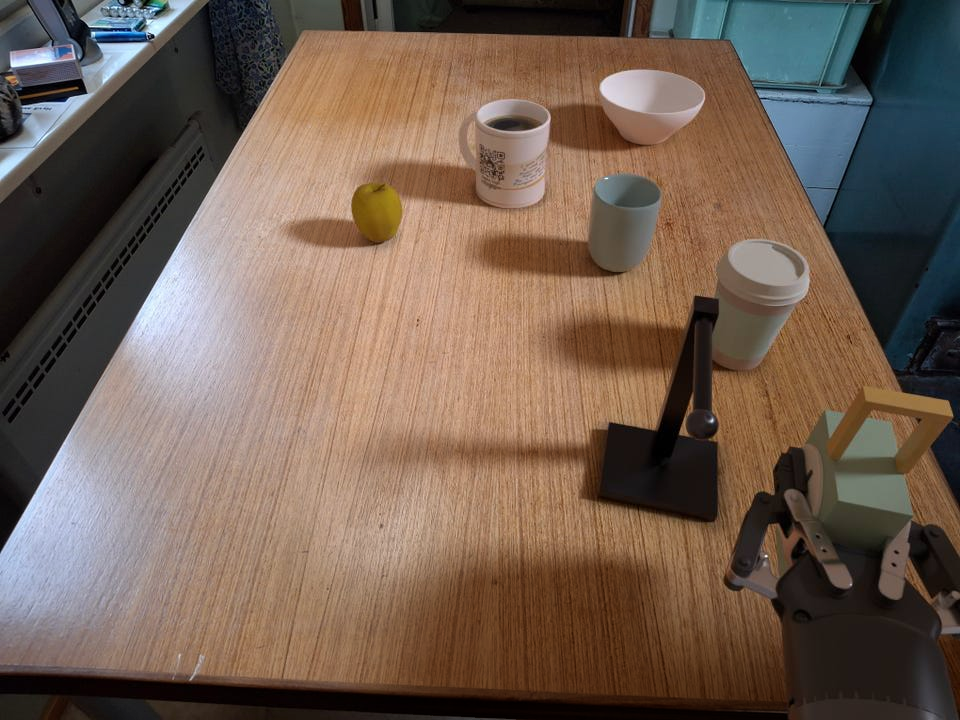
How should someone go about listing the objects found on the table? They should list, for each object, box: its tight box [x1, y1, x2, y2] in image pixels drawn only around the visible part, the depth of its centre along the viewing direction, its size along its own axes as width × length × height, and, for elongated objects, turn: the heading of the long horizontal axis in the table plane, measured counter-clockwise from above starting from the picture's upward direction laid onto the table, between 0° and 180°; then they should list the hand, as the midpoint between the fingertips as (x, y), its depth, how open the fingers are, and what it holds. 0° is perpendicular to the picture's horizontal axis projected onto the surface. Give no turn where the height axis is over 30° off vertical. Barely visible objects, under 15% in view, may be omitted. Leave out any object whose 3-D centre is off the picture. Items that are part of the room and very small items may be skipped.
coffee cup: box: [712, 238, 811, 372], centre depth 68 cm, size 8×8×12 cm
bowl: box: [598, 69, 706, 146], centre depth 105 cm, size 16×16×7 cm
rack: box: [597, 294, 720, 523], centre depth 52 cm, size 10×14×18 cm
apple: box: [350, 182, 403, 244], centre depth 84 cm, size 6×6×8 cm
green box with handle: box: [774, 385, 954, 579], centre depth 42 cm, size 5×7×15 cm, turn 166°
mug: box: [457, 98, 552, 209], centre depth 92 cm, size 10×12×11 cm
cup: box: [587, 173, 663, 273], centre depth 80 cm, size 8×8×10 cm
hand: (831, 462), depth 45 cm, fingers closed on green box with handle, 4 cm apart
